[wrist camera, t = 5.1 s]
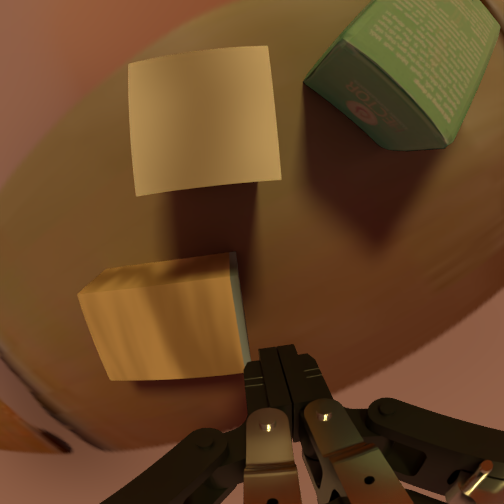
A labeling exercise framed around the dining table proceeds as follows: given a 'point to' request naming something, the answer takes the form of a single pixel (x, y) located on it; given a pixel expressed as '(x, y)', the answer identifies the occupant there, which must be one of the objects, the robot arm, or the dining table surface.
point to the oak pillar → (169, 319)
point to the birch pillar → (203, 120)
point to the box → (408, 69)
